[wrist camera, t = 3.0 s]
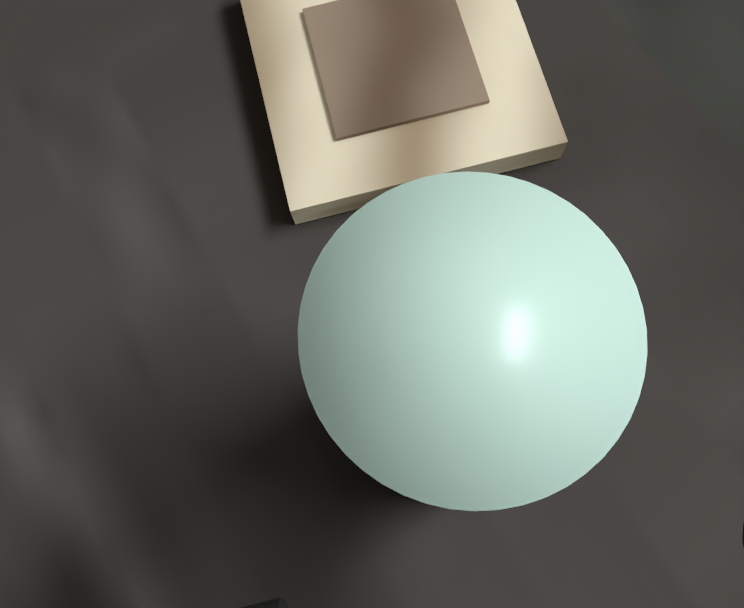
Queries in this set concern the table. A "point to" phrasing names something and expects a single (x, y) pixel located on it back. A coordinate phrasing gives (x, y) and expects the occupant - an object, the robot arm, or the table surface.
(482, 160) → the board
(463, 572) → the table surface
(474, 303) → the tube
